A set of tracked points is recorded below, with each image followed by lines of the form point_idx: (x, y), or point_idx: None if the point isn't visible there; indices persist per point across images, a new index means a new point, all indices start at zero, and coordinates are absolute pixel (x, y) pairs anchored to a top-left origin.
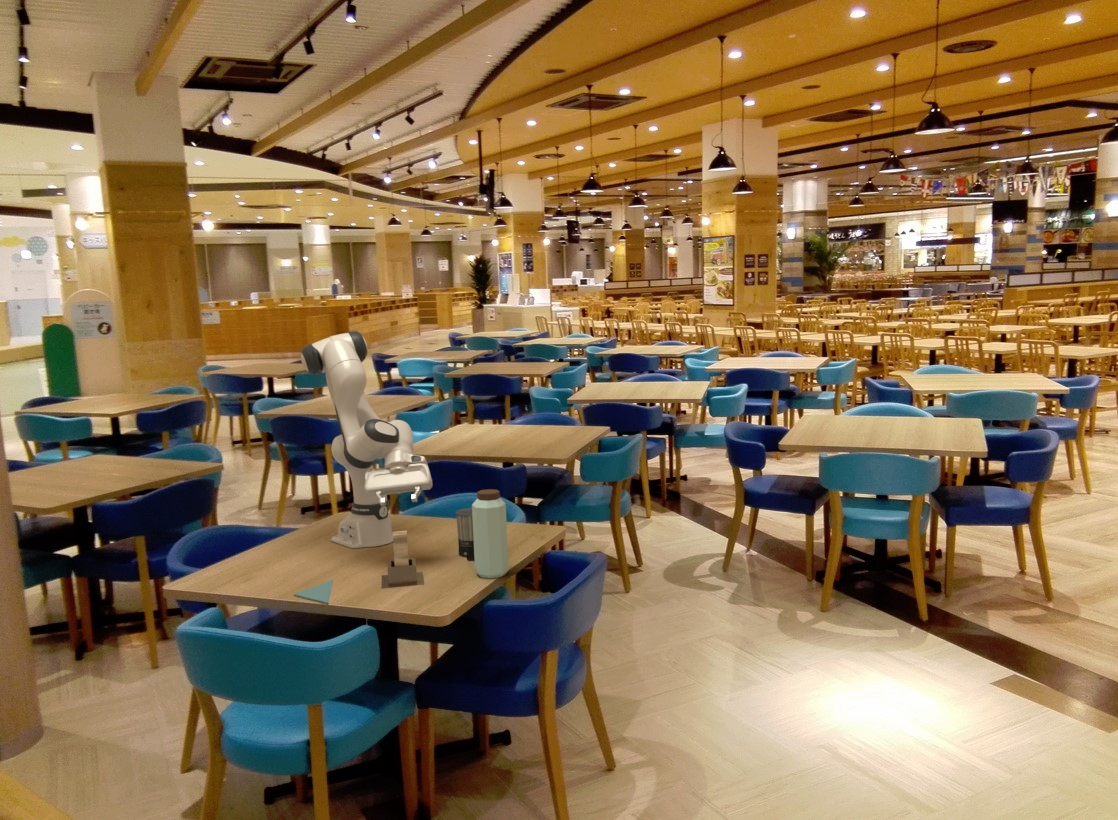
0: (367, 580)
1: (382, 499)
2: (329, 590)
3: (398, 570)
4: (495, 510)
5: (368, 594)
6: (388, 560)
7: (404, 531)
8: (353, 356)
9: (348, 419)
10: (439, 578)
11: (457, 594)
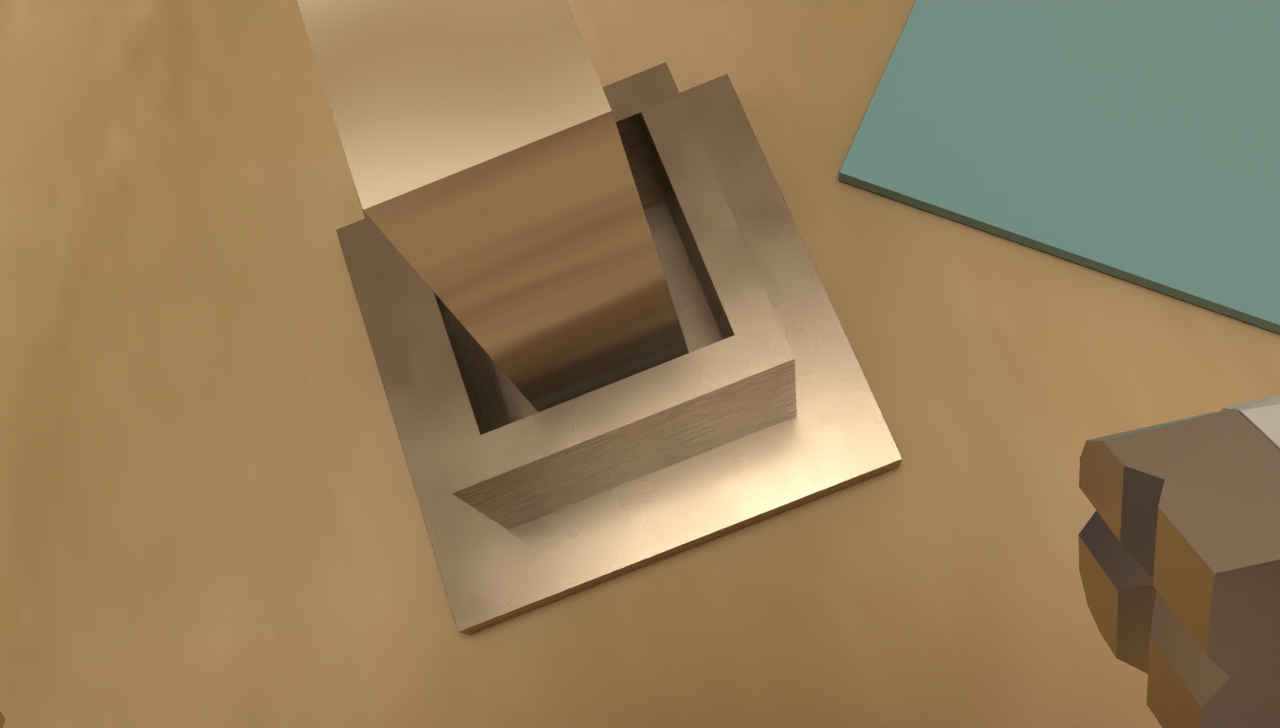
0: (1044, 397)
1: (1273, 502)
2: (1277, 5)
3: None
4: None
5: (832, 20)
6: (781, 357)
7: (388, 151)
8: None
9: None
10: (261, 530)
11: (28, 126)
